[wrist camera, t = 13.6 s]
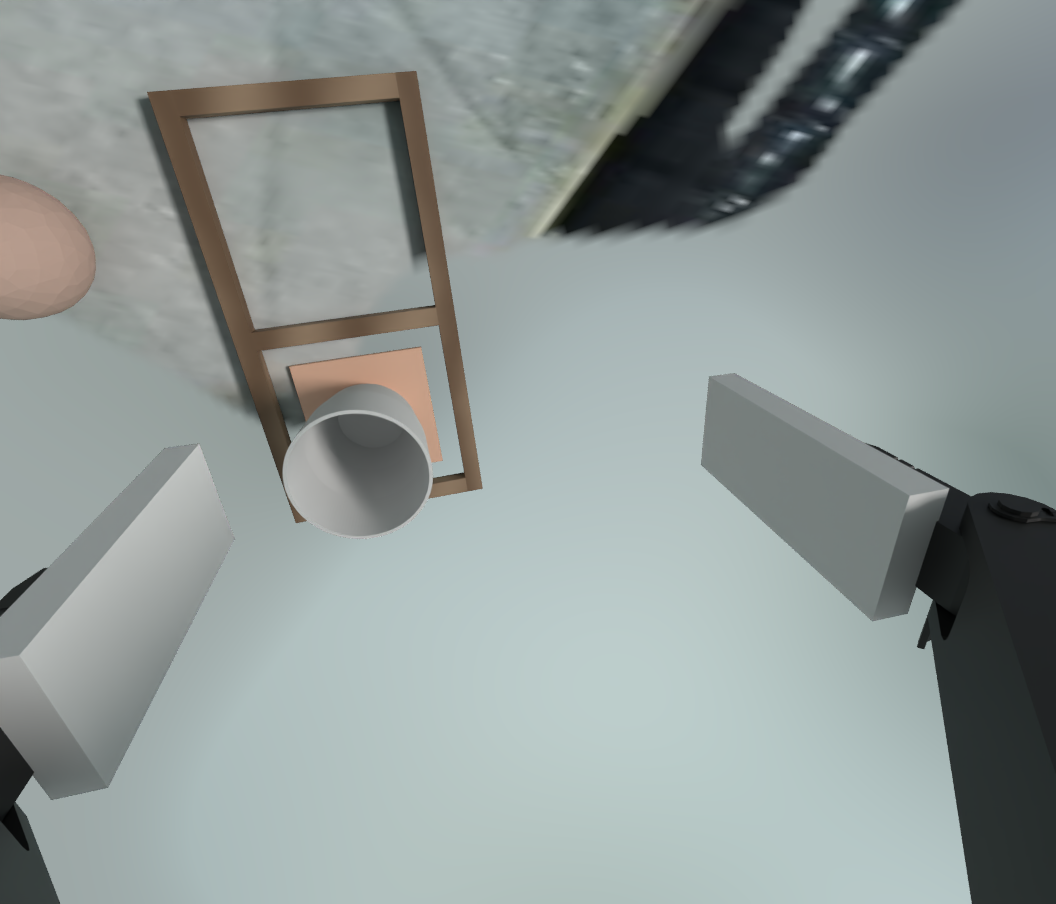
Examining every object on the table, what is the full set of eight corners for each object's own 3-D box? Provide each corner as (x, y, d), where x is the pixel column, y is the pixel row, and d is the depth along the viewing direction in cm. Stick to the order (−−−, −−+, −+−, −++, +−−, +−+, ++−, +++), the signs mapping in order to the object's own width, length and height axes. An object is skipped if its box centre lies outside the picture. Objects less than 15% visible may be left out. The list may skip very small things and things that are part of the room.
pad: (324, 479, 41) (324, 481, 40) (290, 365, 37) (289, 366, 36) (442, 459, 42) (442, 460, 41) (420, 346, 38) (420, 347, 38)
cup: (344, 481, 41) (325, 557, 32) (291, 385, 37) (253, 442, 28) (444, 443, 41) (453, 509, 32) (401, 345, 37) (398, 388, 28)
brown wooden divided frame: (298, 516, 41) (296, 523, 40) (155, 95, 29) (146, 92, 29) (481, 482, 43) (482, 488, 42) (416, 74, 31) (416, 70, 30)
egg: (-24, 284, 31) (-159, 308, 24) (-26, 155, 29) (-177, 136, 22) (117, 322, 34) (33, 354, 26) (126, 204, 31) (36, 202, 24)
